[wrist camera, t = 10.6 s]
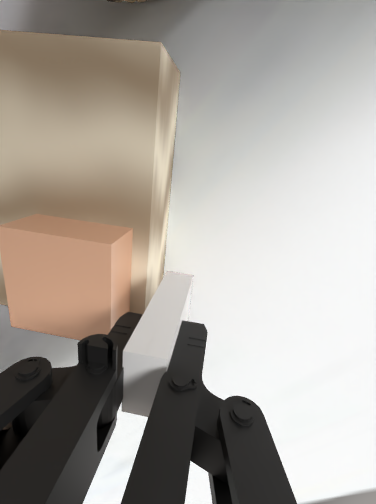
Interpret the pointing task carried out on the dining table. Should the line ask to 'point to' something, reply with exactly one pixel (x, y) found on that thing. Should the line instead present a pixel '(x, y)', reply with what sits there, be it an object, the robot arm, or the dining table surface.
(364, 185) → the dining table surface
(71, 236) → the tile
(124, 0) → the rock
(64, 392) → the robot arm
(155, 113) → the board
